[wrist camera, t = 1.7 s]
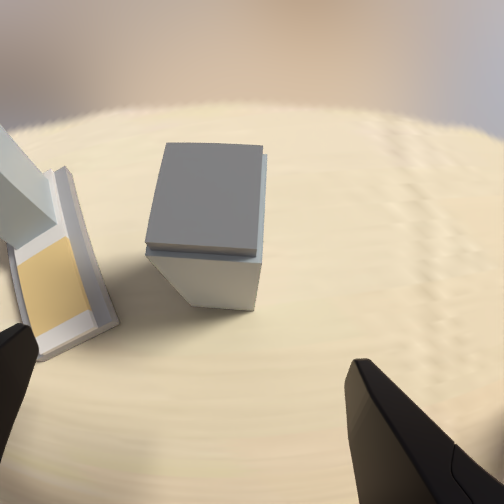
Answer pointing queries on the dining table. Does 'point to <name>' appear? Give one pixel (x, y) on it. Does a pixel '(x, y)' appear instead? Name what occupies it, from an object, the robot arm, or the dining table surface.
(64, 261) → the rail board
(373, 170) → the dining table surface
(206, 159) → the block
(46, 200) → the block
